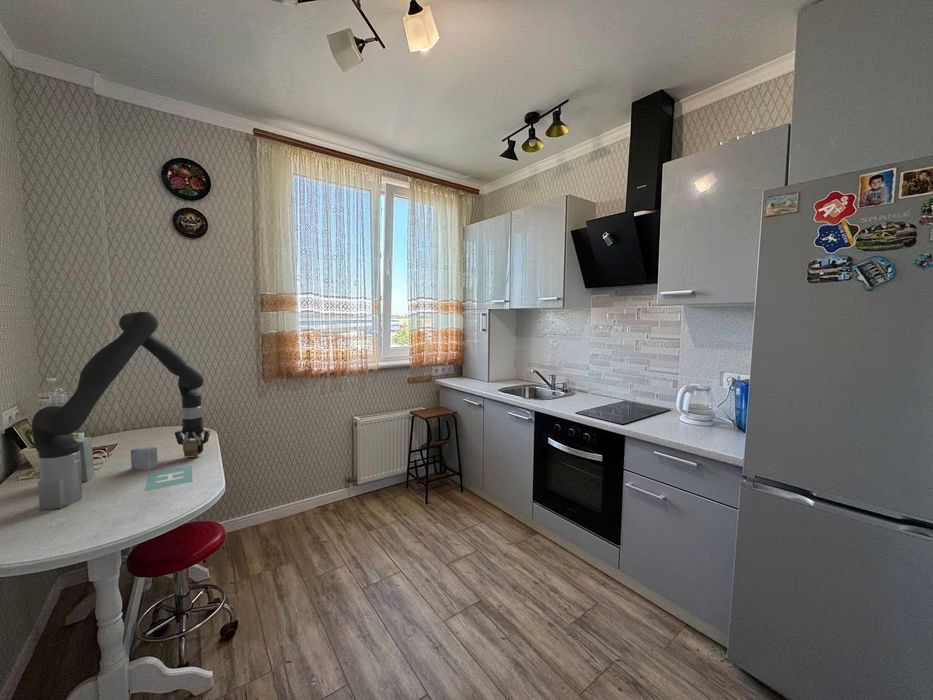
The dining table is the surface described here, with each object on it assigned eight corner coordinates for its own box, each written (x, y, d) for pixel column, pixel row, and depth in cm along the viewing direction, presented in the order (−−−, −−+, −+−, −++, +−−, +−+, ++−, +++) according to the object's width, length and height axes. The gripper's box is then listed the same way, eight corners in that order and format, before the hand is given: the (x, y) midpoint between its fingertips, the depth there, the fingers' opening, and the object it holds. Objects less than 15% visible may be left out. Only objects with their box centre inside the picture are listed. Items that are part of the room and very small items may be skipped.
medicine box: (158, 466, 155) (157, 447, 154) (148, 471, 151) (147, 450, 150) (141, 465, 156) (140, 446, 155) (131, 469, 151) (130, 449, 151)
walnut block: (196, 455, 164) (196, 443, 164) (184, 456, 163) (183, 443, 163) (202, 452, 169) (202, 439, 169) (190, 452, 168) (190, 439, 168)
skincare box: (87, 482, 139) (85, 441, 138) (61, 485, 136) (58, 444, 135) (95, 473, 147) (93, 435, 146) (70, 477, 143) (68, 438, 142)
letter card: (192, 482, 141) (192, 481, 141) (144, 492, 132) (144, 491, 132) (191, 465, 157) (191, 465, 157) (149, 473, 148) (149, 472, 148)
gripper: (169, 418, 160) (170, 456, 161) (205, 418, 163) (206, 455, 164) (179, 414, 167) (180, 450, 169) (213, 413, 170) (214, 449, 171)
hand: (193, 452), depth 166 cm, fingers closed on walnut block, 4 cm apart
